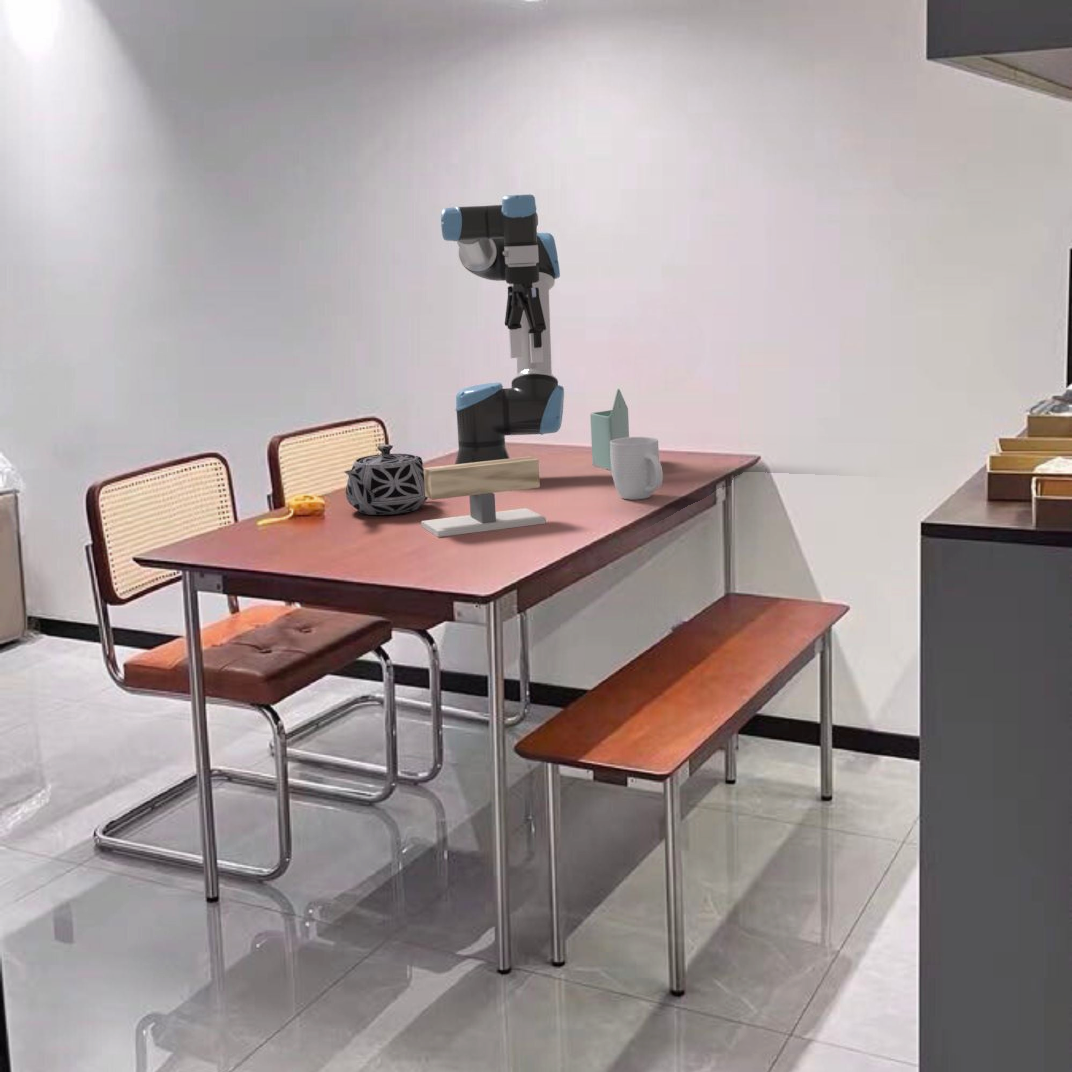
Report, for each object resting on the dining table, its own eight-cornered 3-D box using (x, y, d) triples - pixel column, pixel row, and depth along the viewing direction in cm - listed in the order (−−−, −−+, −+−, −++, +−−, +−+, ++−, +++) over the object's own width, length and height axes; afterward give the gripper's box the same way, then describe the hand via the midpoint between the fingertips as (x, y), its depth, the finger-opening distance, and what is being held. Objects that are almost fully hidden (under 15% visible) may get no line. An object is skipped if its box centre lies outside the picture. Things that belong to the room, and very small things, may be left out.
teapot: (313, 523, 326) (307, 456, 322) (388, 496, 352) (383, 434, 349) (385, 527, 317) (380, 458, 314) (457, 499, 344) (453, 436, 340)
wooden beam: (425, 496, 311) (423, 468, 310) (531, 483, 319) (530, 456, 318) (432, 499, 307) (430, 471, 305) (539, 487, 315) (538, 459, 314)
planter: (601, 459, 388) (598, 384, 384) (630, 459, 385) (627, 384, 381) (583, 470, 373) (580, 393, 368) (613, 471, 370) (611, 392, 366)
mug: (680, 499, 331) (679, 441, 329) (641, 506, 326) (639, 448, 323) (640, 490, 344) (638, 435, 341) (602, 497, 338) (599, 441, 335)
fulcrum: (421, 526, 316) (419, 493, 314) (526, 513, 324) (524, 481, 322) (438, 537, 305) (435, 502, 303) (546, 523, 313) (544, 490, 311)
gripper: (488, 265, 341) (493, 357, 346) (525, 267, 318) (530, 365, 323) (518, 263, 343) (523, 354, 348) (557, 265, 321) (562, 362, 325)
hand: (526, 360), depth 335 cm, fingers open, 13 cm apart
